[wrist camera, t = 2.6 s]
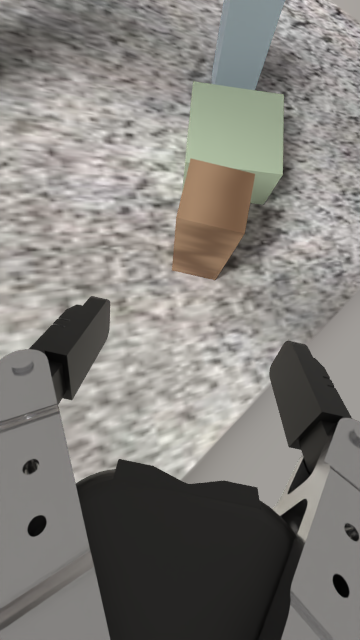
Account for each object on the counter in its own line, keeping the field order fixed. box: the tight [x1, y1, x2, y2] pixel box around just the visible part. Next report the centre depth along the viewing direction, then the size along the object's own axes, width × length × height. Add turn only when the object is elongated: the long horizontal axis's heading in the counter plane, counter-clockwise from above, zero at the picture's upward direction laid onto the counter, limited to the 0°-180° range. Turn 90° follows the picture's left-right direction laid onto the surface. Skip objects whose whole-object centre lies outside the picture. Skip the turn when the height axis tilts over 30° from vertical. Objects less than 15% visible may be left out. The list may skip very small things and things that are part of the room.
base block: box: [182, 81, 284, 205], centre depth 27 cm, size 10×10×5 cm
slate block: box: [212, 0, 285, 90], centre depth 26 cm, size 5×5×10 cm
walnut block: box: [172, 158, 255, 280], centre depth 22 cm, size 5×5×10 cm
